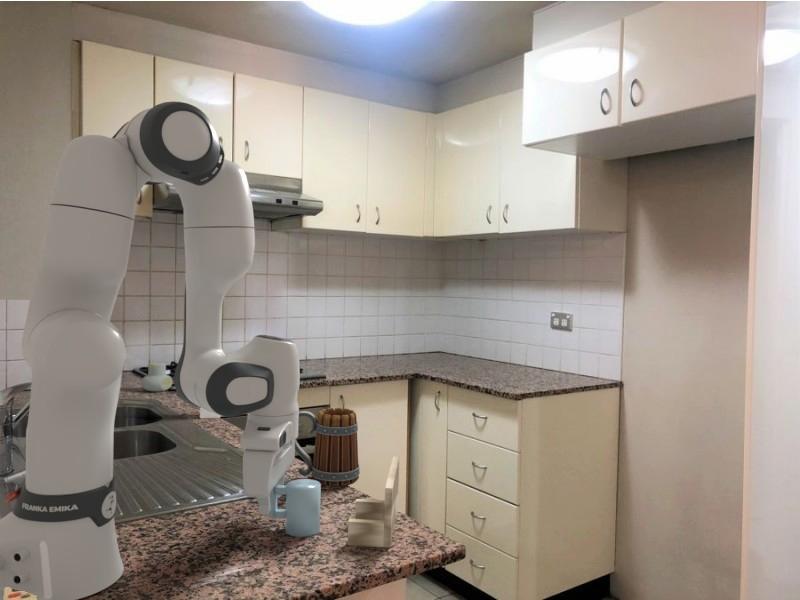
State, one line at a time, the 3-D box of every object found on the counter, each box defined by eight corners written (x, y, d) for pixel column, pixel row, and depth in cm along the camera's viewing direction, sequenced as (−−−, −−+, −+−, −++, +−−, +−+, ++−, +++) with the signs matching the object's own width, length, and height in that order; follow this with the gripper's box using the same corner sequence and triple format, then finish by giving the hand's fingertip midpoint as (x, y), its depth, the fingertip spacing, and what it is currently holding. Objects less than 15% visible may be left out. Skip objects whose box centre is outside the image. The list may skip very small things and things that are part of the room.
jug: (264, 534, 105) (265, 488, 105) (273, 520, 111) (274, 477, 111) (315, 537, 105) (317, 491, 104) (322, 523, 111) (323, 480, 110)
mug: (360, 472, 140) (362, 407, 139) (358, 488, 129) (360, 418, 129) (291, 470, 139) (293, 405, 139) (284, 486, 129) (286, 416, 128)
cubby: (347, 545, 102) (349, 486, 102) (361, 504, 120) (362, 454, 120) (390, 547, 102) (392, 488, 101) (397, 506, 120) (399, 456, 119)
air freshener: (157, 394, 218) (157, 366, 217) (137, 392, 220) (137, 364, 219) (175, 388, 228) (176, 362, 228) (156, 387, 230) (156, 360, 230)
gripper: (271, 412, 118) (269, 483, 119) (236, 441, 98) (234, 526, 98) (303, 414, 118) (301, 485, 118) (275, 443, 97) (273, 529, 98)
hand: (271, 504), depth 108 cm, fingers open, 6 cm apart
